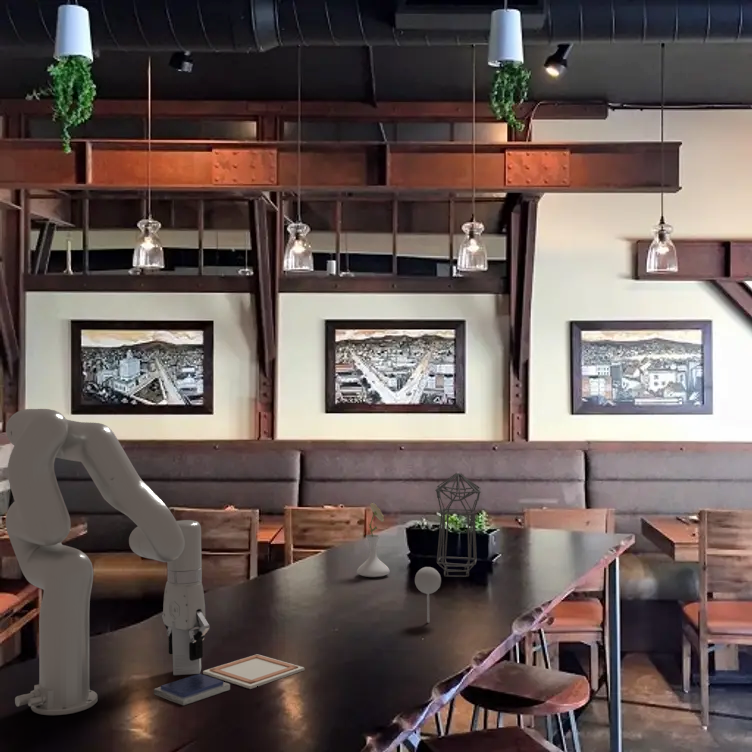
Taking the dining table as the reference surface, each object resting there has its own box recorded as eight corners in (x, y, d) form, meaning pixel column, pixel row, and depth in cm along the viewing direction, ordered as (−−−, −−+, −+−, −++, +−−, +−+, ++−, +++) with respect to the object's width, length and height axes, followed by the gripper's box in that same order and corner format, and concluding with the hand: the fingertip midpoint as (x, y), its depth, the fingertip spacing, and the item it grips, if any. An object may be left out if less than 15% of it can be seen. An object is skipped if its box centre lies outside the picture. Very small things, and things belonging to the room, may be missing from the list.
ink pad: (183, 705, 172) (183, 696, 172) (154, 694, 178) (153, 685, 178) (230, 689, 181) (230, 681, 181) (200, 679, 187) (200, 671, 187)
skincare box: (201, 668, 195) (201, 615, 195) (200, 675, 190) (199, 620, 191) (173, 670, 194) (173, 616, 194) (171, 676, 190) (171, 621, 190)
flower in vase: (389, 579, 288) (389, 505, 289) (356, 579, 288) (355, 505, 289) (389, 571, 301) (389, 500, 302) (357, 571, 301) (356, 500, 302)
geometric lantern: (435, 569, 304) (437, 471, 305) (480, 571, 302) (481, 472, 303) (432, 578, 289) (434, 474, 290) (479, 580, 286) (480, 475, 288)
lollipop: (446, 622, 233) (446, 566, 233) (430, 627, 228) (429, 570, 228) (426, 617, 238) (426, 563, 238) (409, 622, 233) (409, 567, 233)
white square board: (250, 689, 181) (250, 684, 181) (203, 673, 191) (203, 669, 191) (304, 670, 193) (304, 666, 193) (257, 656, 203) (257, 652, 203)
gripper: (147, 574, 195) (148, 652, 195) (194, 584, 184) (195, 667, 184) (175, 568, 201) (176, 645, 201) (222, 578, 190) (223, 659, 189)
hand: (185, 655), depth 192 cm, fingers closed on skincare box, 6 cm apart
